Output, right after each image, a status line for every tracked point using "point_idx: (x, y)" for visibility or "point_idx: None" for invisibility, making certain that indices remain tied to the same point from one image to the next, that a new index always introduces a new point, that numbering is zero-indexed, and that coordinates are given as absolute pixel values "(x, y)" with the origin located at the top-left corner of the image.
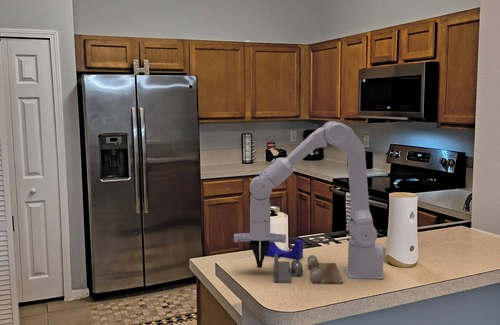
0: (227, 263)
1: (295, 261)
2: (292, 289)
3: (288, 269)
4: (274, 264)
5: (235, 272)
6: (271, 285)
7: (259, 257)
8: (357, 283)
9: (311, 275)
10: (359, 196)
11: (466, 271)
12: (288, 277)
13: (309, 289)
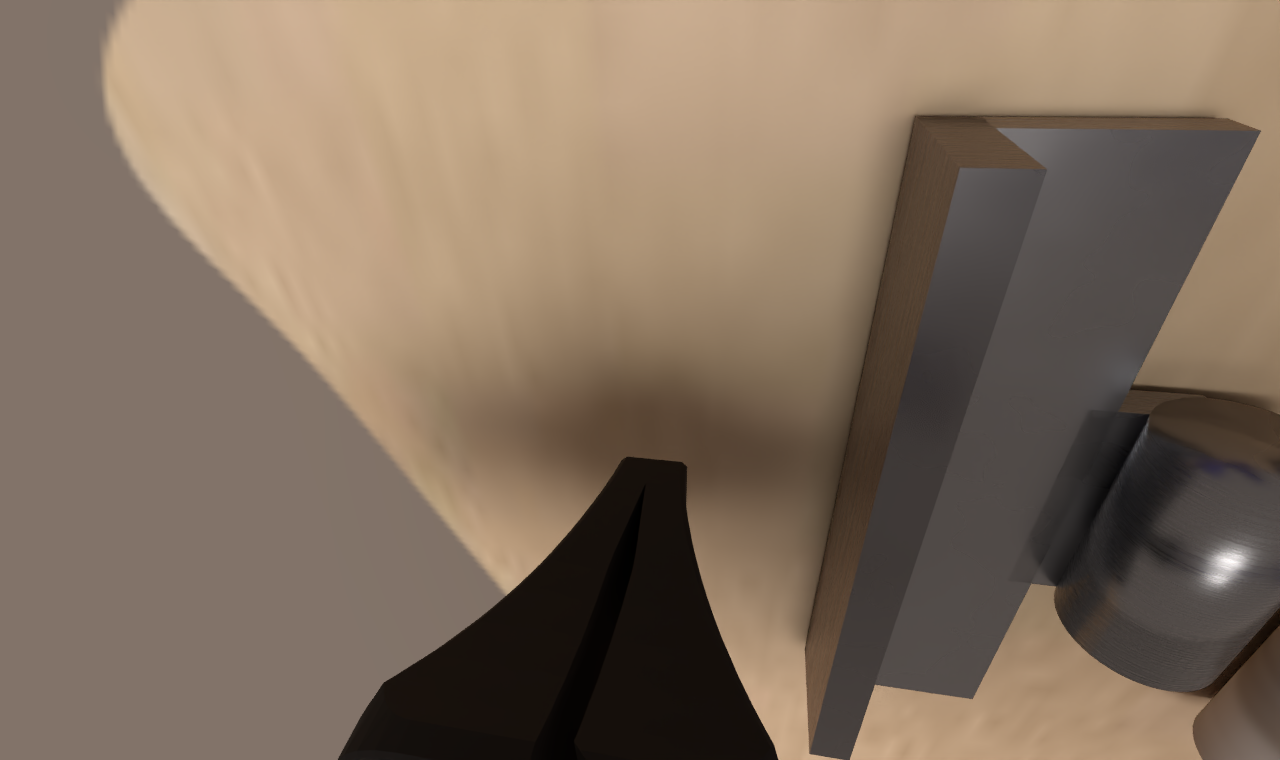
0: (183, 97)
1: (1239, 567)
2: (934, 730)
3: (1054, 478)
4: (861, 496)
5: (407, 406)
6: (772, 663)
7: (628, 529)
8: None
9: (1233, 749)
10: None
11: None
12: (961, 653)
13: (1086, 750)
